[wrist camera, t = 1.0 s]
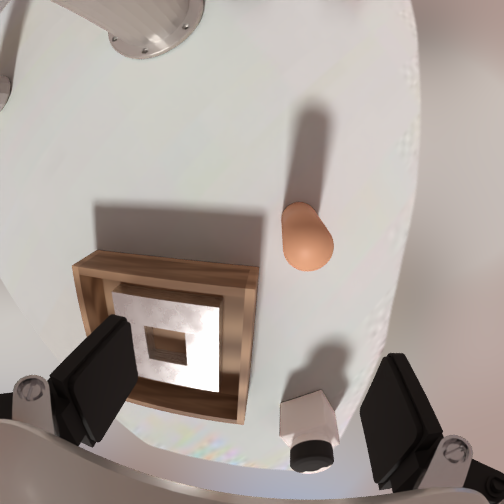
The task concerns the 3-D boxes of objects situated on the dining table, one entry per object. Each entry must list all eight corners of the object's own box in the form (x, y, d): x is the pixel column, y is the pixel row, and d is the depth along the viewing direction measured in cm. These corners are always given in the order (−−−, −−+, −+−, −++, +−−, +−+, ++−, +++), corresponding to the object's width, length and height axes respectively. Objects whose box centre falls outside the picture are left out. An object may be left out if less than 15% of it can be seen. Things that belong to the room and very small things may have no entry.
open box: (97, 250, 35) (71, 265, 29) (259, 267, 34) (255, 289, 28) (120, 371, 42) (105, 394, 36) (247, 396, 41) (243, 424, 35)
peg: (283, 200, 31) (285, 219, 22) (319, 204, 31) (337, 225, 21) (279, 235, 32) (280, 268, 23) (314, 238, 32) (329, 273, 23)
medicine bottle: (279, 402, 41) (277, 463, 30) (321, 388, 39) (329, 451, 28) (296, 424, 43) (297, 481, 31) (335, 412, 41) (344, 469, 30)
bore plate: (120, 283, 35) (111, 291, 33) (222, 297, 34) (219, 307, 32) (134, 363, 40) (127, 373, 37) (221, 380, 39) (218, 391, 36)
